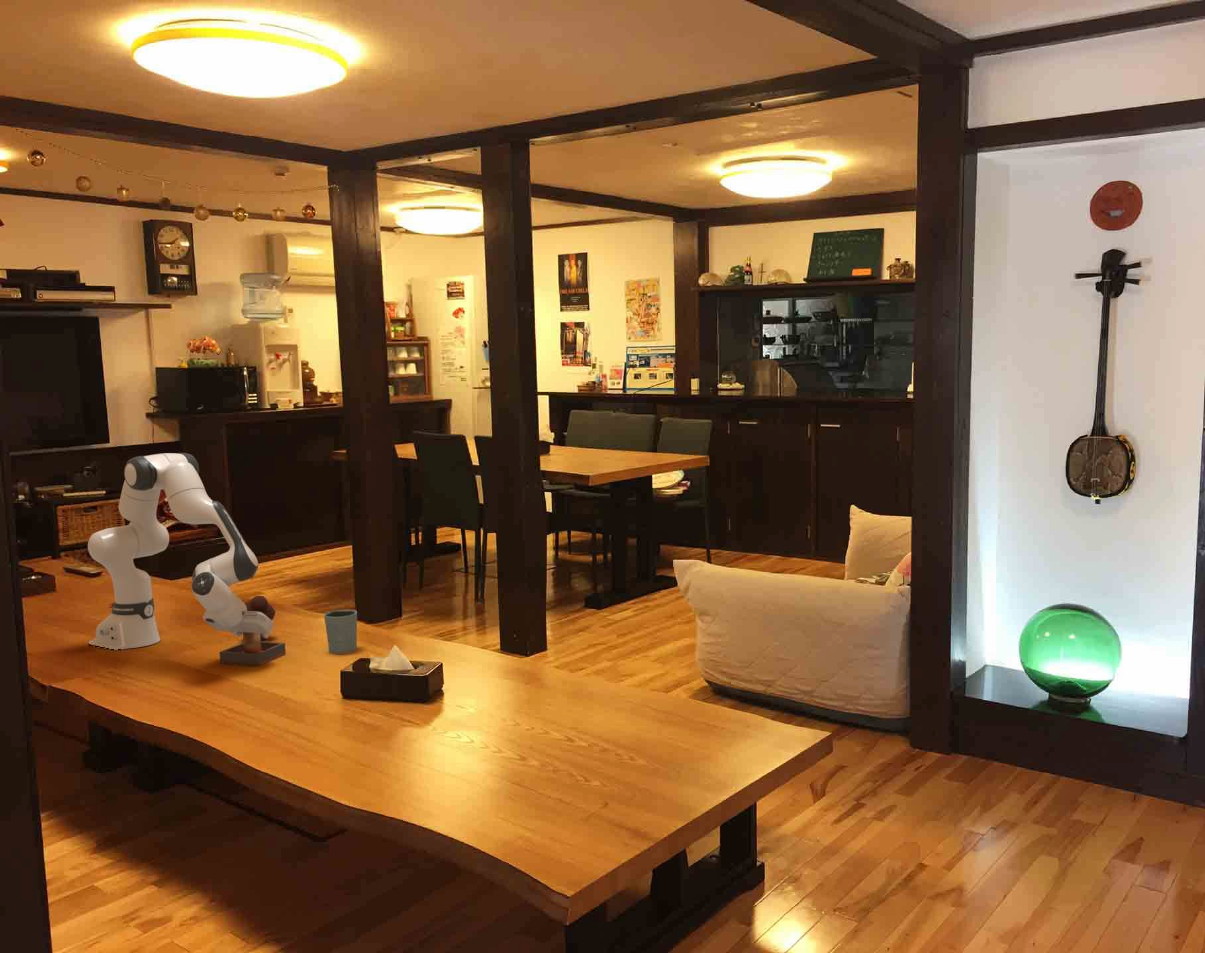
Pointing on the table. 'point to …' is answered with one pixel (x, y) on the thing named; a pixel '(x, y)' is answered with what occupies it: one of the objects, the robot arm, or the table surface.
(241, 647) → the lacquer tray
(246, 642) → the tea canister
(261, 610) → the ice cream bowl
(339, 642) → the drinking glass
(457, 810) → the table surface
